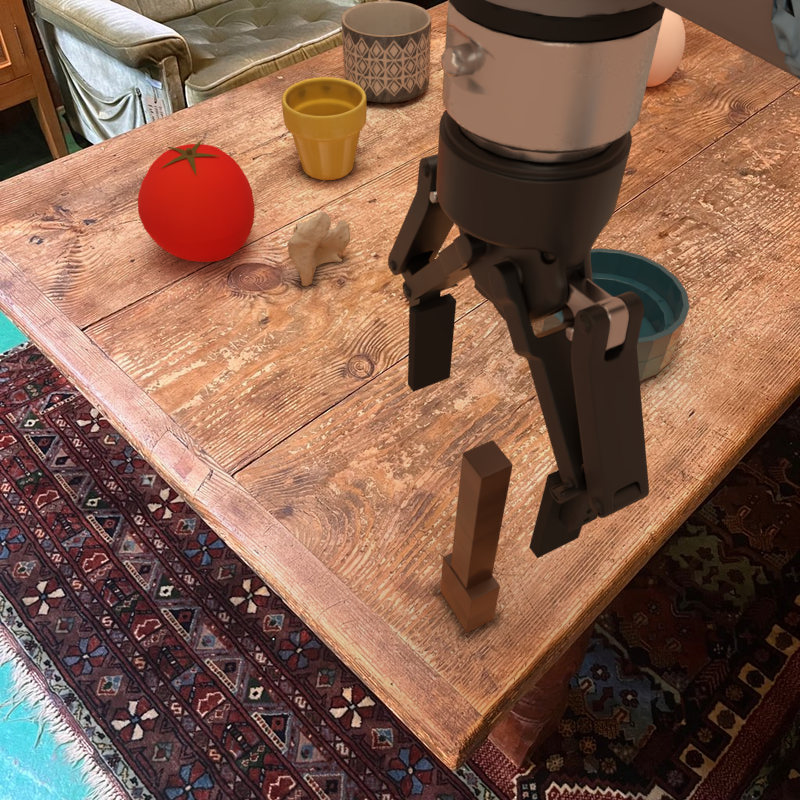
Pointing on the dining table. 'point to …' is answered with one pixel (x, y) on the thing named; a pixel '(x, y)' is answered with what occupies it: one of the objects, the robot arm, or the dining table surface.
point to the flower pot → (325, 124)
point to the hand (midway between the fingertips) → (485, 455)
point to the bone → (317, 244)
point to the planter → (387, 49)
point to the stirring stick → (476, 536)
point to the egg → (667, 49)
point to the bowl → (657, 293)
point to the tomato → (197, 203)
